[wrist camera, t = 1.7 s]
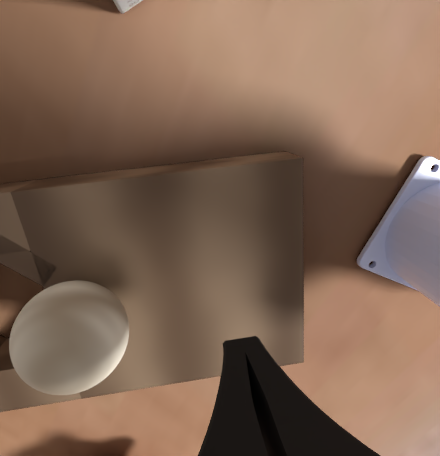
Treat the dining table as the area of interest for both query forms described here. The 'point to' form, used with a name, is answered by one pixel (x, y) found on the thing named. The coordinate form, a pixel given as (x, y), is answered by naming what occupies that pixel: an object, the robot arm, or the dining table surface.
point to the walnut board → (167, 262)
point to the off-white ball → (69, 337)
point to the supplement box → (125, 4)
